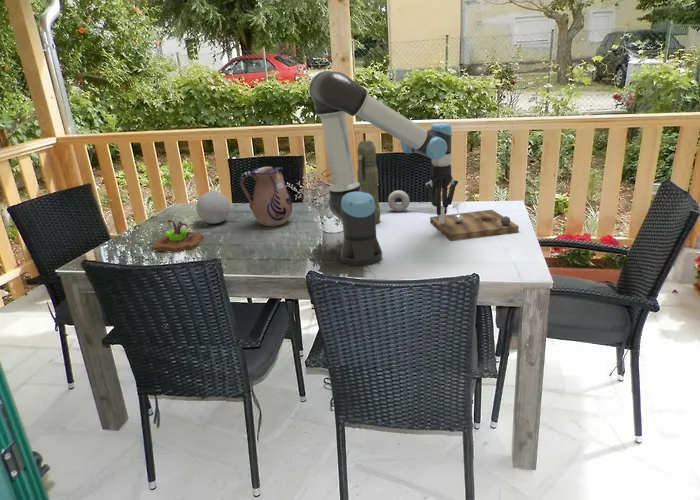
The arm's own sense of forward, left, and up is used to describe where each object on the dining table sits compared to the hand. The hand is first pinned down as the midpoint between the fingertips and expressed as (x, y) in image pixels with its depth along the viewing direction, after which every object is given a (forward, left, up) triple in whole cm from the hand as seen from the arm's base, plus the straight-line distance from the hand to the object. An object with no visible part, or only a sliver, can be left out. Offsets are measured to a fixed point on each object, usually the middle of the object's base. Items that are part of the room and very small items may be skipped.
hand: (441, 222), depth 210 cm
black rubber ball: (+23, -9, 0) cm, 25 cm away
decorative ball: (-93, +48, -4) cm, 105 cm away
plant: (-107, +23, -4) cm, 109 cm away
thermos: (-25, +22, -4) cm, 33 cm away
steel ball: (+7, 0, 0) cm, 7 cm away
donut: (-9, +33, -4) cm, 34 cm away
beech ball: (+3, +9, 0) cm, 10 cm away
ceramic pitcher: (-68, +36, -4) cm, 77 cm away
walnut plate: (+13, 0, -4) cm, 14 cm away
